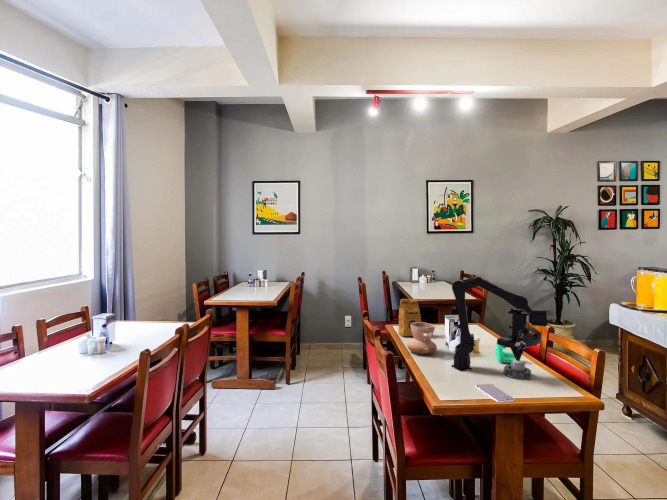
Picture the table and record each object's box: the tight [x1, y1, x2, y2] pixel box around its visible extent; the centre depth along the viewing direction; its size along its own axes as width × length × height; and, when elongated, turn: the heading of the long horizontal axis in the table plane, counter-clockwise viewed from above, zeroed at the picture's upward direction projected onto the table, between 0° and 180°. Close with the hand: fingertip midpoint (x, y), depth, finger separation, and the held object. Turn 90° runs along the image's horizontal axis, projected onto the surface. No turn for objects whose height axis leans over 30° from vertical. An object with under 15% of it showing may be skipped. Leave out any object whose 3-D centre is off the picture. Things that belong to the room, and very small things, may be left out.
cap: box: [510, 359, 526, 372], centre depth 160 cm, size 5×5×5 cm
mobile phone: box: [474, 383, 516, 403], centre depth 141 cm, size 8×1×15 cm
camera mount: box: [495, 343, 516, 364], centre depth 179 cm, size 12×8×10 cm, turn 165°
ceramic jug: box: [406, 321, 438, 355], centre depth 190 cm, size 18×14×14 cm
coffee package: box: [398, 298, 422, 337], centre depth 222 cm, size 10×12×22 cm
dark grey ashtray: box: [502, 364, 533, 381], centre depth 160 cm, size 11×11×3 cm
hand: (517, 360), depth 160 cm, fingers closed
